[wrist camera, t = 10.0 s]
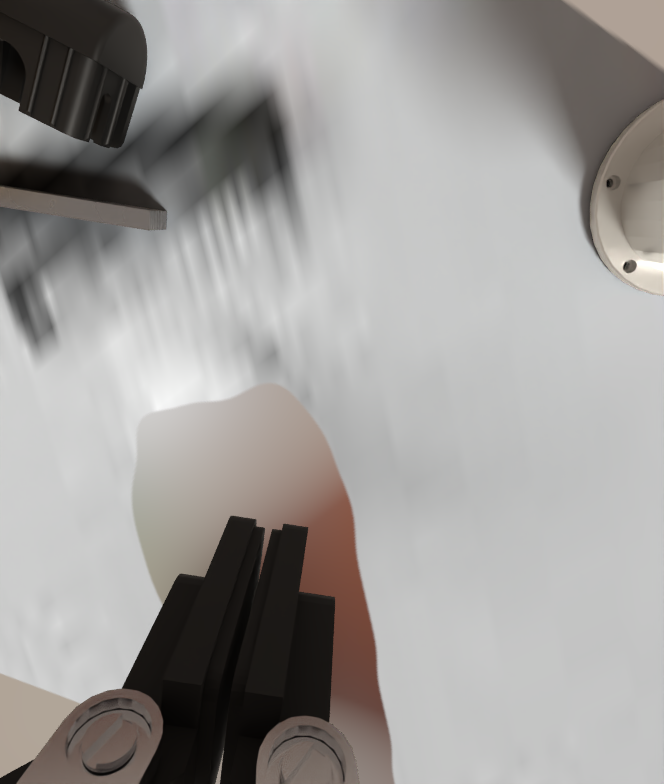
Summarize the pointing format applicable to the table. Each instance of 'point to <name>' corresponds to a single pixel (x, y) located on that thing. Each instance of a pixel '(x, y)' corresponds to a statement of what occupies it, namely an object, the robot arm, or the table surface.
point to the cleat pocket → (82, 208)
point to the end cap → (73, 65)
